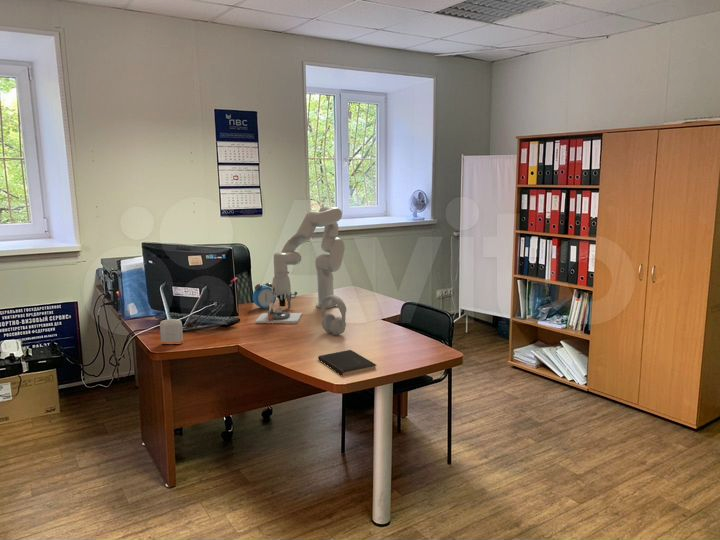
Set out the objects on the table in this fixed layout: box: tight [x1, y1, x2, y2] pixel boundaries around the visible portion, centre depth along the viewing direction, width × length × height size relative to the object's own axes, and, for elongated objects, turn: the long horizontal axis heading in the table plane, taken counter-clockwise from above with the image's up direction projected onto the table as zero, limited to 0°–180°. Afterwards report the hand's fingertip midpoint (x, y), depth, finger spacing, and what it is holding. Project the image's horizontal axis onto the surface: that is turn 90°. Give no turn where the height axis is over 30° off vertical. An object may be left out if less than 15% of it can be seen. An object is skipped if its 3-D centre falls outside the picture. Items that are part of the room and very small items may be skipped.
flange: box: [267, 303, 291, 319], centre depth 307 cm, size 15×12×6 cm
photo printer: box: [159, 318, 184, 343], centre depth 265 cm, size 10×4×12 cm, turn 94°
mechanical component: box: [286, 291, 298, 309], centre depth 332 cm, size 3×10×10 cm, turn 89°
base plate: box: [254, 312, 303, 325], centre depth 306 cm, size 23×17×4 cm
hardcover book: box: [317, 349, 378, 377], centre depth 233 cm, size 16×23×2 cm
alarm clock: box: [252, 282, 277, 310], centre depth 333 cm, size 13×6×15 cm, turn 125°
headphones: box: [320, 294, 347, 336], centre depth 275 cm, size 18×8×20 cm, turn 39°
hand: (282, 306), depth 316 cm, fingers closed
